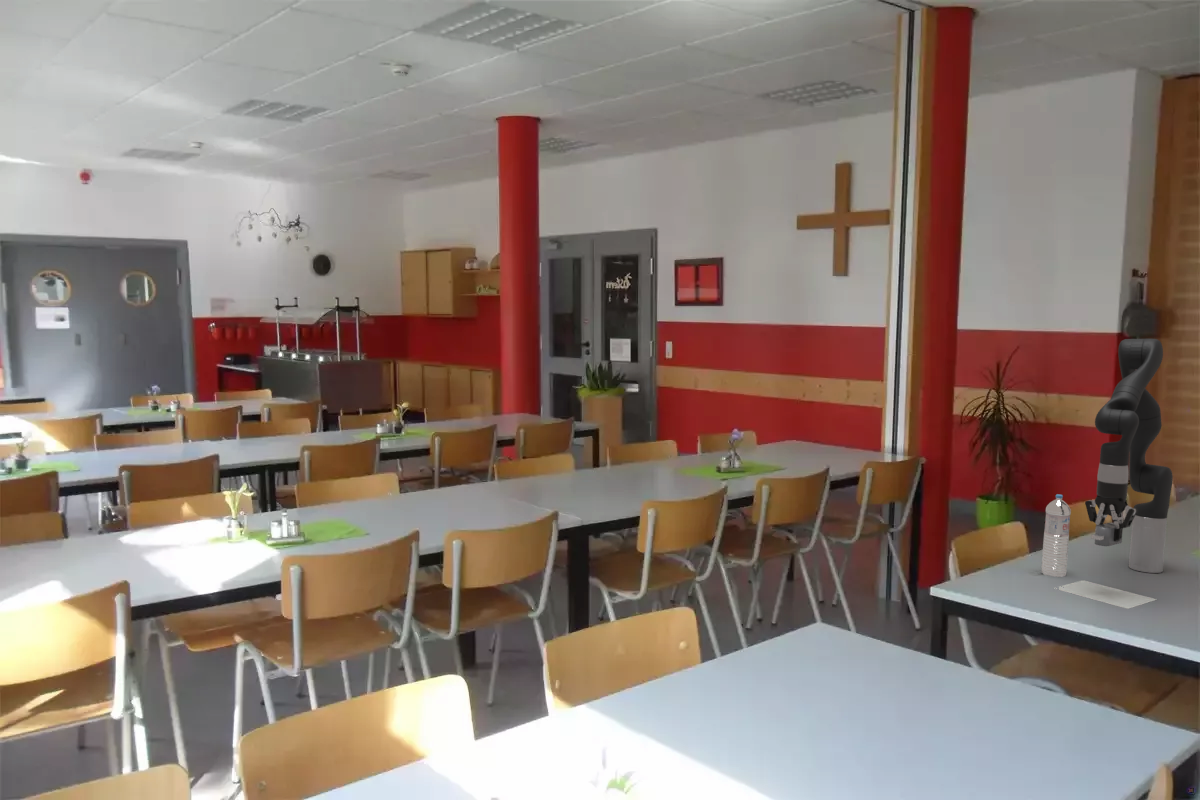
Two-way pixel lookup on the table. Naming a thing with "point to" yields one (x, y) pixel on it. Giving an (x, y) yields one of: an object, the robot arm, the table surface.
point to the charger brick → (1105, 535)
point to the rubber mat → (1106, 594)
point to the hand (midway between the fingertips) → (1108, 539)
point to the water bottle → (1056, 538)
